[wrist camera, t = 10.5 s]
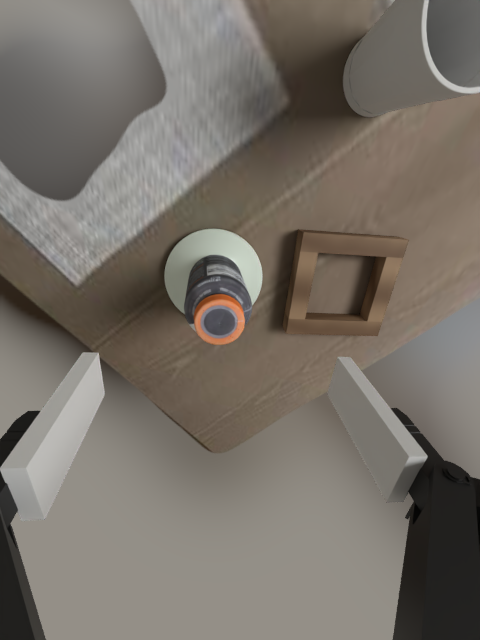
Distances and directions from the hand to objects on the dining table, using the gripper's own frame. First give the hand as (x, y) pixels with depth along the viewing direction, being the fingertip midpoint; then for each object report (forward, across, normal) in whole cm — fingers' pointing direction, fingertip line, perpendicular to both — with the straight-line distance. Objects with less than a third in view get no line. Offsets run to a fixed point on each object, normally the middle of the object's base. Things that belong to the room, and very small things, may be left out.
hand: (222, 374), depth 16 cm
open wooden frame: (+19, +15, 0) cm, 24 cm away
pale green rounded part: (+19, 0, 0) cm, 19 cm away
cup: (+19, +14, +20) cm, 31 cm away
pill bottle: (+18, 0, 0) cm, 18 cm away
